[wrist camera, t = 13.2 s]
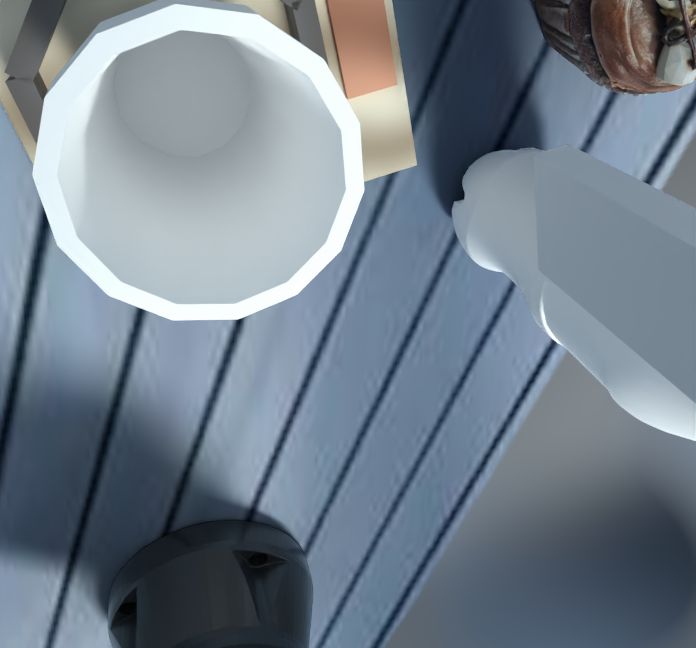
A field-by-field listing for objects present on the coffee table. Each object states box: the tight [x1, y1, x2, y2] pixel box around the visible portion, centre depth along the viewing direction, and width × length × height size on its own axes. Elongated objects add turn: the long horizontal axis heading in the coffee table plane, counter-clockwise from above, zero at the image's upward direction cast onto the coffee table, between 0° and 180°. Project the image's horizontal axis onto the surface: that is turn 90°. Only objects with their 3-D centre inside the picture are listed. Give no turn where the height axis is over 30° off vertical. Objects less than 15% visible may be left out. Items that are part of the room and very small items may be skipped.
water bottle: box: [452, 148, 696, 441], centre depth 28 cm, size 7×7×25 cm
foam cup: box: [32, 0, 364, 320], centre depth 24 cm, size 10×9×13 cm
